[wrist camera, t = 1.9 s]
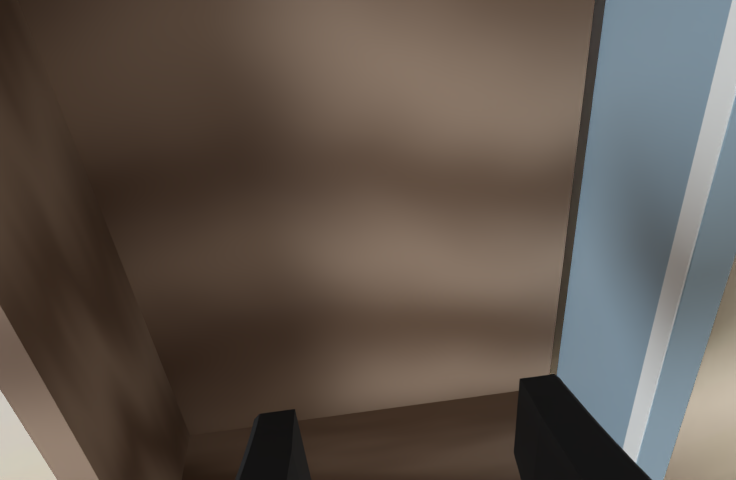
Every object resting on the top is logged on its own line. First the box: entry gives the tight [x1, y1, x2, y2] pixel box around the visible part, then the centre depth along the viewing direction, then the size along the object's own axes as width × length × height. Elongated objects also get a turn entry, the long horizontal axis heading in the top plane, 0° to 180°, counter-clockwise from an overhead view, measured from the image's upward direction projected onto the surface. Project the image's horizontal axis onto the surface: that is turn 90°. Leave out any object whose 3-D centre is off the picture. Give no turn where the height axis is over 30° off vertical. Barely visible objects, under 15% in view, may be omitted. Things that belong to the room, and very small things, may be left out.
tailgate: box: [557, 0, 736, 480], centre depth 16 cm, size 20×1×6 cm, turn 5°
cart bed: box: [0, 0, 595, 480], centre depth 16 cm, size 25×16×7 cm, turn 5°
